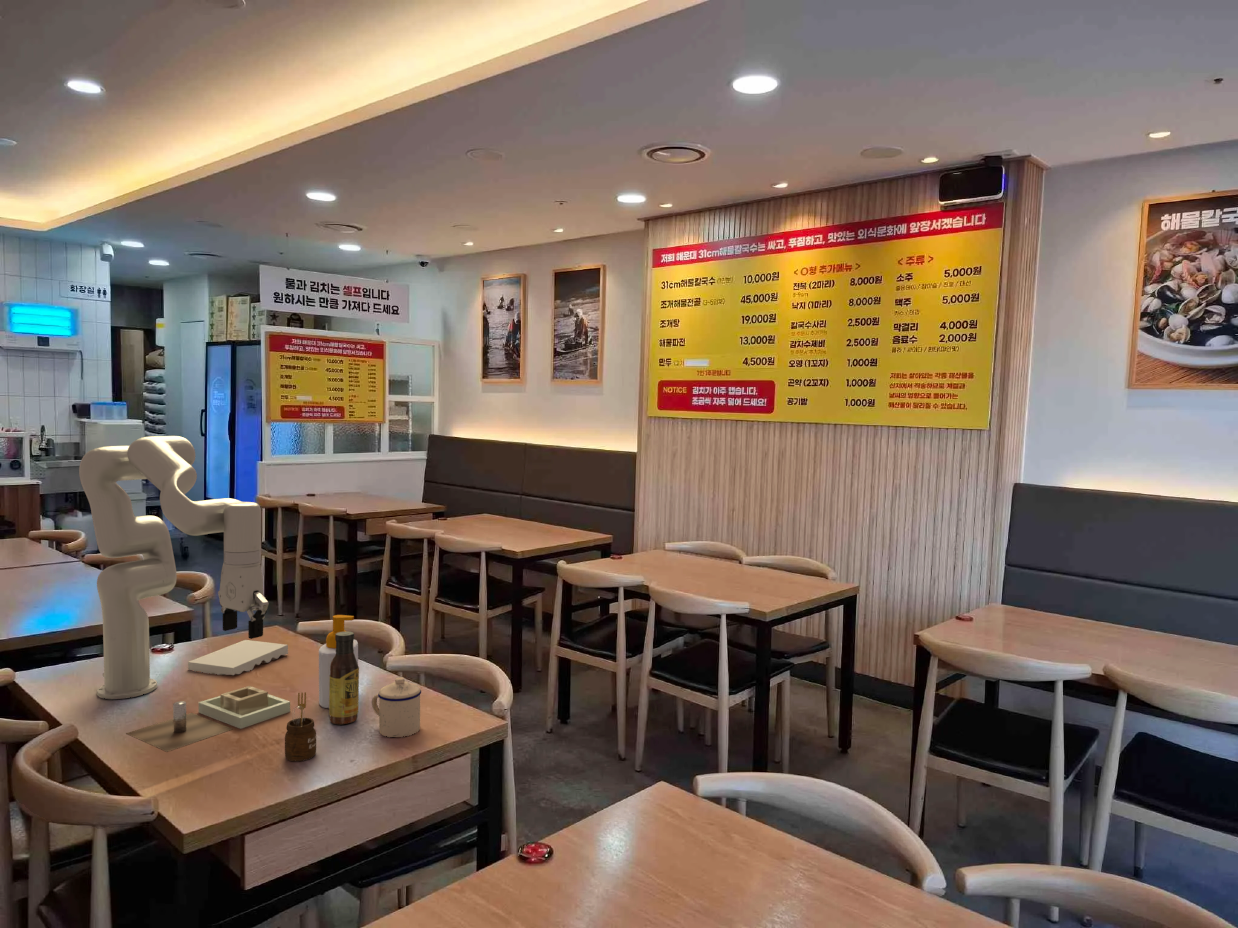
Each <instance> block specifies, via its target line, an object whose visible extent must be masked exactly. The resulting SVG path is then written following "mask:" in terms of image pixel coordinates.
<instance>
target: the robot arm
mask: <svg viewBox="0 0 1238 928" xmlns="http://www.w3.org/2000/svg"><path fill="white" fill-rule="evenodd" d="M195 460H196V449H195V448H194V445H193V444H192V442H190V440H188V439H187V438H185V437H182V436H181V435H180V436H179V435H161V436H160V435H158V436H157V435H156V436H154V435H153V436H144V437H143V436H142V437H140V438H138V439H135V440H134V441H132V442H131V444H129V445H108V446H100V447H96V448H93V449H91V450H89V451H87V452H85V454H84V455H83V457H82V458H81V460H80V463H79V467H78V470H79V471H78V473H79V480H80V483H81V486H82V489H83V491H84V493H85V495H86V498H87V501H88V503H89V507H90V510H91V511H90V512H91V518H92V524H93V529H94V534H95V541H96V543H97V548H98V551H99V552H100V554H101V556H103V557H104V558H106V559H107V558H109V559H116V558H117V559H118V558H119V559H120V558H126V557H133V556H139V555H141V556H142V558H143V559H138V560H131V561H126V562H118V563H116V564H112V565H110V566H107V567H106V568H104V569H102V571H101V572H100V573H99V574H98V576H97V580H96V588H97V593H98V597H99V601H100V606H101V615H102V633H103V634H102V636H103V637H102V640H103V641H102V642H103V644H102V645H103V673H102V677H103V679H104V680H103V681H104V684H103V685H100V687H98V688H97V690H96V695H97V696H98V697H99V698H101V697H102V698H101V699H104V698H105V699H107V700H121V699H129V698H130V697H131V698H136V697H140V696H144V695H147V694H149V693H151V692H153V691H154V690H157V688H158V681H157V680H156V679H154V678H151V669H150V667H151V665H150V664H151V662H150V659H151V658H150V625H149V623H150V622H149V621H150V620H149V615H148V614H147V611H146V610H145V608H143V606H142V605H141V604H140V602H139V601H141V600H144V599H146V598H147V599H149V598H152V597H157V596H160V595H164V594H167V593H169V592H171V591H173V589H174V588H175V586H176V584H177V578H178V577H177V574H178V573H177V568H176V561H175V556H174V551H173V544H172V539H171V535H170V532H169V531H170V530H169V528H168V526H167V524H166V523H165V521H164V520H162V519H161V518H160V517H158V516H155V515H147V514H146V515H138V516H135V514H134V509H133V504H132V499H131V497H130V496H129V494H128V493H127V492H126V490H124V489H123V487H121V486H120V484H118V483H117V482H120V481H121V482H122V481H134V480H135V481H137V480H148V481H149V482H150V483H151V484H152V485H154V486H155V487H156V488H157V490H159V491H160V494H159V504H160V508H161V510H162V511H161V512H162V513H163V515H164V516H165V518H166V519H167V521H169V522H170V524H172V525H173V526H174V527H175V528H176V529H178V530H179V531H181V532H182V533H184V534H186V535H188V536H195V537H196V536H203V535H208V534H217V533H223V563H222V567H221V573H220V580H219V581H220V582H219V583H220V584H219V590H218V591H217V595H218V599H219V604H220V607H221V608H220V609H221V610H220V612H221V613H222V630H223V631H224V632H226V631H232V630H235V629H237V628H238V612H240V613H244V612H246V613H247V615H248V617H249V620H248V622H247V625H248V639H250V640H252V639H253V640H254V639H257V638H261V637H263V636H264V619H265V617H266V615H267V611H268V608H269V601H268V600H267V599H266V597H265V596H264V580H263V572H262V567H261V566H262V565H261V564H262V509H261V506H260V504H259V503H257V502H253V501H252V502H251V501H241V500H239V499H235V498H230V497H227V498H226V497H225V498H224V497H223V498H216V499H215V498H214V499H206V500H197V501H196V500H195V501H193V500H191V499H190V498H188V496H186V494H187V493H188V492H189V491H191V489H192V488H193V487H194V486H195V484H196V481H197V478H198V474H197V471H196V469H195V468H194V467H193V464H194V462H195ZM254 611H255V612H254ZM223 631H222V632H223ZM143 694H144V695H143ZM105 699H104V700H105Z"/></svg>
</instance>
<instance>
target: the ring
mask: <svg viewBox="0 0 1238 928" xmlns="http://www.w3.org/2000/svg"><path fill="white" fill-rule="evenodd" d="M268 694H269V692H268V691H266V690H263V689H260V688H257V687H254V686H251V685H247V686H245V687H240V688H238V689H233V690H231V691H227V692H224V693H221V694H220V695H219V696H220V702H221V707H220V708H223V709H226V710H228V711H231V712H234V713H236V714H239V715H245V714H249V713H252V712H255V711H258V710H261V709H264V708H267V707H268Z"/></svg>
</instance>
